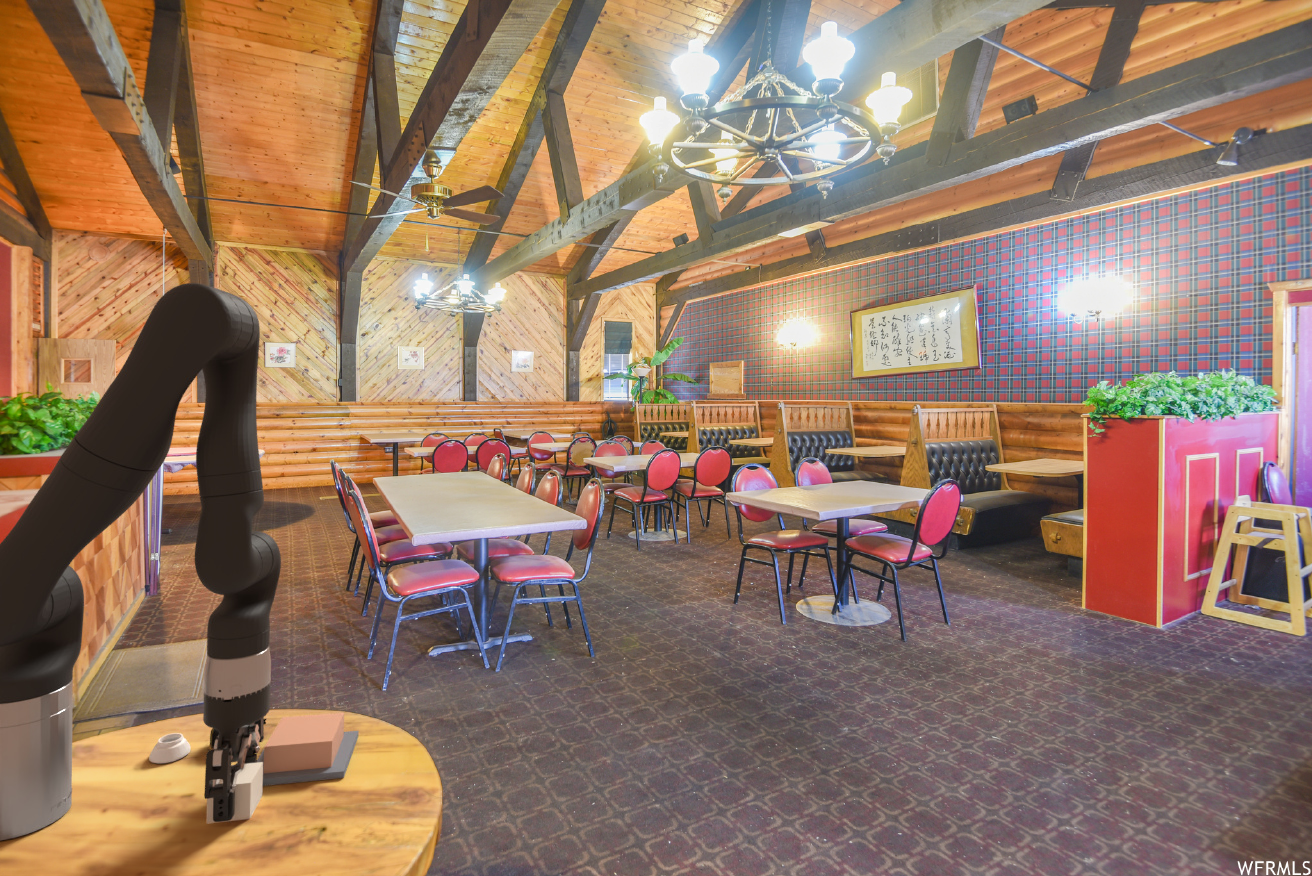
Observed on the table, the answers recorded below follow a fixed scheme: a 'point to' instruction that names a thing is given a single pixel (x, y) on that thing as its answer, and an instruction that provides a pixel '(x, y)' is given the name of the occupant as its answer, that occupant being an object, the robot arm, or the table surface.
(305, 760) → the build base
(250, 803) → the cream block
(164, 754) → the white bowl
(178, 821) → the table surface
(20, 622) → the robot arm
